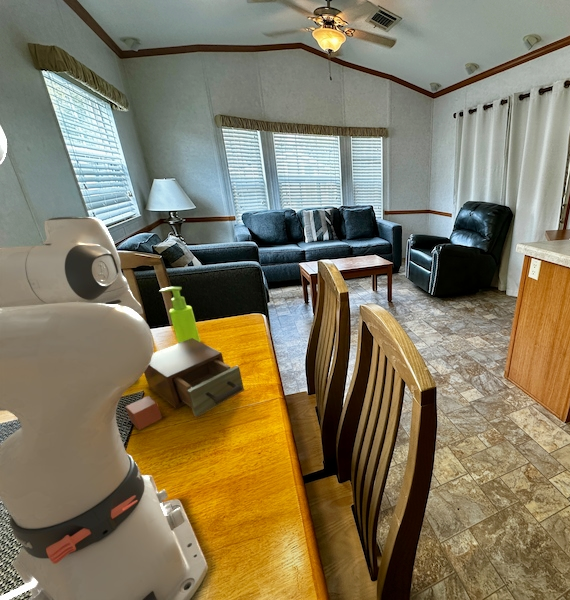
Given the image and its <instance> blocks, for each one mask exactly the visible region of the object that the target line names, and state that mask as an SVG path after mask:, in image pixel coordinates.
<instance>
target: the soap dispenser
mask: <svg viewBox="0 0 570 600" xmlns="http://www.w3.org/2000/svg"><path fill="white" fill-rule="evenodd" d="M181 290H183V289H182V286H169V287H164V288H161V289H160V290H159V291H158V292H159V293H165V292H172V295H173V297H172V298H171V299H170V301H171V304H172V308H170V309H169V310H168V313H169V317H170V320H171V323H172V327H173V330H174V333H175V337H176V341H177V344H178V343H181V342H183V341H186V340H189V339H191V338H193V339H195V340H197V341H199V342H201V343H202V341H201V338H200V334H199V330H198V326H197V322H196V318H195V314H194V311H193V307H192V306H191V305H187V303H186V299H185V296H183V295H182V296H181Z"/></svg>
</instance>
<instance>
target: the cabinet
mask: <svg viewBox="0 0 570 600" xmlns="http://www.w3.org/2000/svg"><path fill="white" fill-rule="evenodd" d="M214 359H218V360H219V361H221V362H223V363H225V361H224V356H223V353H222V352H221V351H218V350H217V349H215V348H213V347H211V346H210V345H209V346H208V345H207V344H205V343H204V342H202V341H201V342H199V341H197V340H195V339H193V338H191V339H189V340H186V341H183V342H181V343H178V342H177V343H175V344H173V345H171V346H168V347H165V348H163V349H159V350H157V351H155V352H153V355H152V359H151V361H150V364H149V366H148V367H147V369H146V371H145V372H144V373H143V375H144V377H145V379H146V382H147V385H148V388H149V389H151V390H152V391H153V392H154V393H156V394H157V395H158V396H160V397H161V398H162V399H164V400H165V401H166V402H168V403H169V404H170V405H171V406H173V407H174V408H175V409H179V408H180V407H182V406H184V405H187V404H186V403H184V402H183V401H181V400H180V399H179V398H178V396H177V393H176V390H175V387H174V383H173V380H172V378H174V377H177V376H179V375H181V374H183V373H185V372H188V371H190V370H192V369H194V368H196V367H199V366H201V365H203V364H205V363H207V362H209V361H212V360H214Z"/></svg>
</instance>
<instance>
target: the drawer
mask: <svg viewBox="0 0 570 600" xmlns="http://www.w3.org/2000/svg"><path fill="white" fill-rule="evenodd" d="M240 369H241V368H240V366H238V365H235V366H233V367H231V365H229V364H227V363H225V362H224V363H223V362H221V361H219V360H218V359H214V360H212V361H209V362H207V363H205V364H203V365H201V366H199V367H196V368H194V369H192V370H190V371H188V372H185V373H183V374H181V375H179V376H177V377H174V378H172V380H173V383H174V387H175V390H176V393H177V396H178V398H179V399H180V400H181V401H183V402H184V403H186V404H185V405H186V406H188V407H190V408H191V410H192V413H193V416H194V417H195V418H198V417H200V416H201V415H203V414H205V413H207V412H209V411H210V410H212V409H214V408H216V407H218V406H219V405H221V404H223V403H225V402H227V400H230V399H231V398H233V397H235V396H237V395H239V394H240V393H241V392H244V391H245V387H244V384H243V379H242V374H241V370H240Z"/></svg>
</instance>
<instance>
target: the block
mask: <svg viewBox="0 0 570 600" xmlns="http://www.w3.org/2000/svg"><path fill="white" fill-rule="evenodd" d="M125 410H126V413H127V415H128V417H129V418H128V419H129V420H130V422H131V424H132V425H133V426H135V427H136V429H138V431H141V430H143V429H145V428H147V427H148V426H151V425H153V424H154V423H156V422H159V420H161V419H163V416H162V414H161V412H160V411H161V410H160V408H159V405H158V402H156V401H155V400H154V399H153V398H152V397H151V396H149V395H147V396H145V397H142V398H141V399H138V400H136V401H135V402H132V403H130V404H128V405H125Z"/></svg>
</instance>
